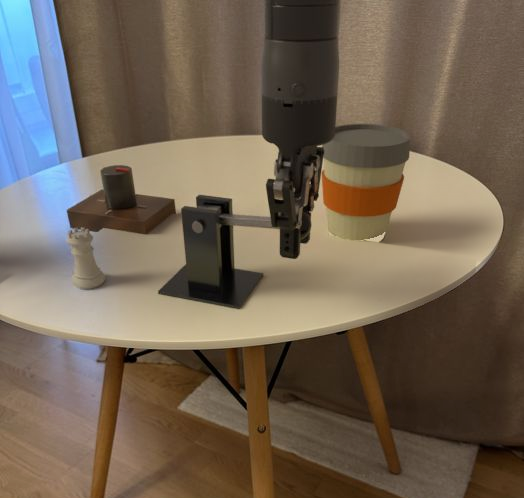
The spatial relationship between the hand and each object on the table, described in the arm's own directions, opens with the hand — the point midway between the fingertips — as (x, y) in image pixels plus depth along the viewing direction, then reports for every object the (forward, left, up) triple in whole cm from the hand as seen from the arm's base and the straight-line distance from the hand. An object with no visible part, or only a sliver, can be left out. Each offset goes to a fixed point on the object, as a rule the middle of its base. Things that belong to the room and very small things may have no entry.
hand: (295, 248), depth 64 cm
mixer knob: (-34, +16, -5) cm, 38 cm away
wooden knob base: (-34, +16, -8) cm, 38 cm away
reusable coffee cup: (+3, +24, -8) cm, 25 cm away
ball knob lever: (-5, 0, +1) cm, 5 cm away
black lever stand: (-11, 0, -8) cm, 14 cm away
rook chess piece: (-27, -5, -8) cm, 28 cm away
